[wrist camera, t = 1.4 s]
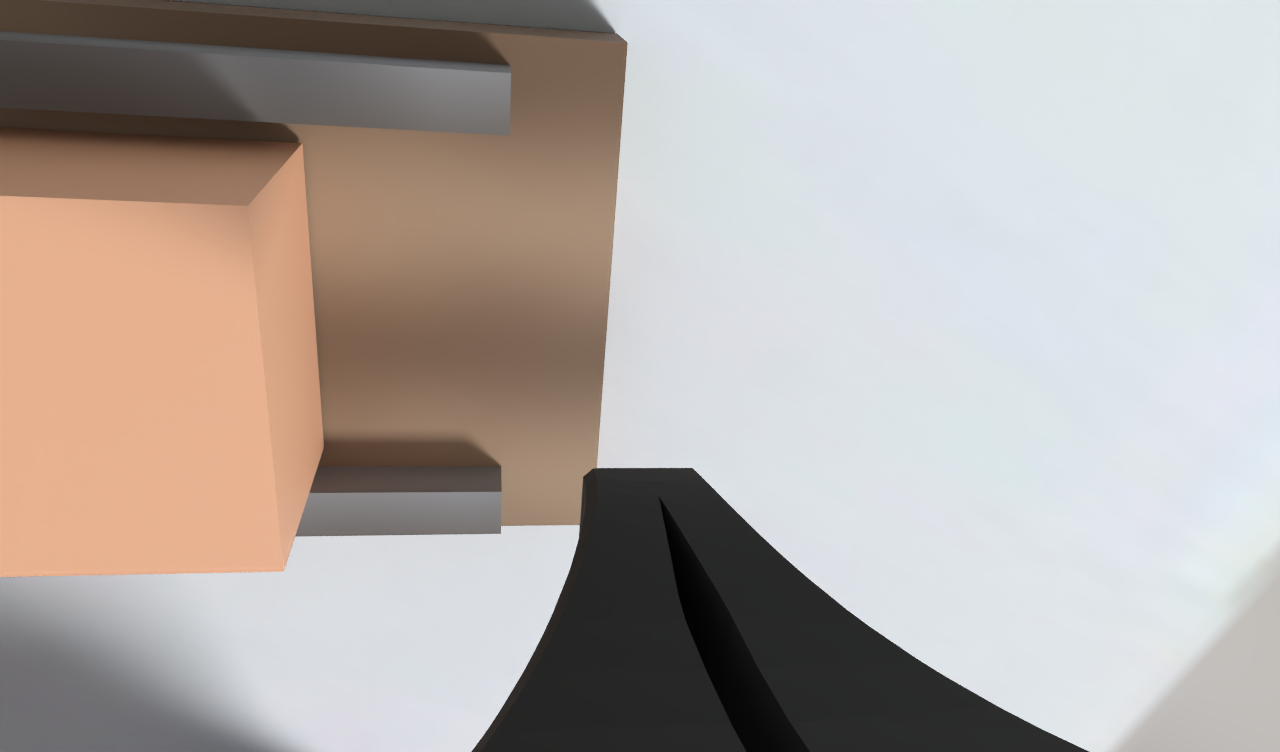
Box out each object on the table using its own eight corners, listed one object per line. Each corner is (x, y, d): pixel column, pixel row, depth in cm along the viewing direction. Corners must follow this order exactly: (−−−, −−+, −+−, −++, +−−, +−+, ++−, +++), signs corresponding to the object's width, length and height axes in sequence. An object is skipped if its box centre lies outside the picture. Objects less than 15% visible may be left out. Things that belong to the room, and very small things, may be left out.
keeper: (323, 447, 19) (283, 571, 15) (49, 446, 18) (-62, 578, 14) (302, 142, 16) (248, 205, 12) (-18, 126, 15) (-175, 188, 12)
